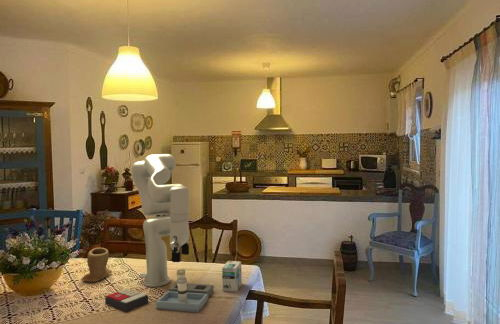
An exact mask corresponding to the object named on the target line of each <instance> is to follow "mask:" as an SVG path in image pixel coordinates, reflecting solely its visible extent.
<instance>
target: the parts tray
mask: <svg viewBox="0 0 500 324" xmlns="http://www.w3.org/2000/svg"><path fill="white" fill-rule="evenodd" d="M208 301H209V297H208V294H201V293H187V303H181V302H178V292H173V291H168V290H167V291H166V292H165V293H164V294H163V295H162V296H161V297H160V298H158V299H157V300H156V302H155V304H156V305H155V306H156V307H155V308H156V310H157V309H158V310H165V311H181V312H193V313H199V312H201V310H202V309H203V307H204V306H205V305H206V304H207V303H208Z"/></svg>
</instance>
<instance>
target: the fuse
mask: <svg viewBox="0 0 500 324" xmlns="http://www.w3.org/2000/svg"><path fill="white" fill-rule="evenodd" d="M182 277H184V278H186V269H183V268H179V269H176V280H177V279H178V278H182ZM177 288H178V283H177Z"/></svg>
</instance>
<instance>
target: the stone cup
mask: <svg viewBox="0 0 500 324" xmlns="http://www.w3.org/2000/svg"><path fill="white" fill-rule="evenodd" d="M109 254H110V252H109V250H108V249H107V248H104V247H95V248H92V249H91V250H89V251H88V253H87V260H86V261H87V266H88V269H89V273H87V274H85V275H84V276H82V278H81V280H83V281H84V282H89V283H90V282H98V281H100V280H103V279H104V278H105V277H107V276H109V275H110V274H111V273H113V271H112V270H111V269H110V268H109V267H107V265H108V261H109V258H110V257H109V256H110V255H109Z"/></svg>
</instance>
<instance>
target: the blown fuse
mask: <svg viewBox="0 0 500 324" xmlns="http://www.w3.org/2000/svg"><path fill="white" fill-rule="evenodd" d="M187 281H188V279H187V277H185V278H184V277H182V278H178V279H177V278H176V282H177V283H178V302H181V303H187V283H188V282H187Z"/></svg>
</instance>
